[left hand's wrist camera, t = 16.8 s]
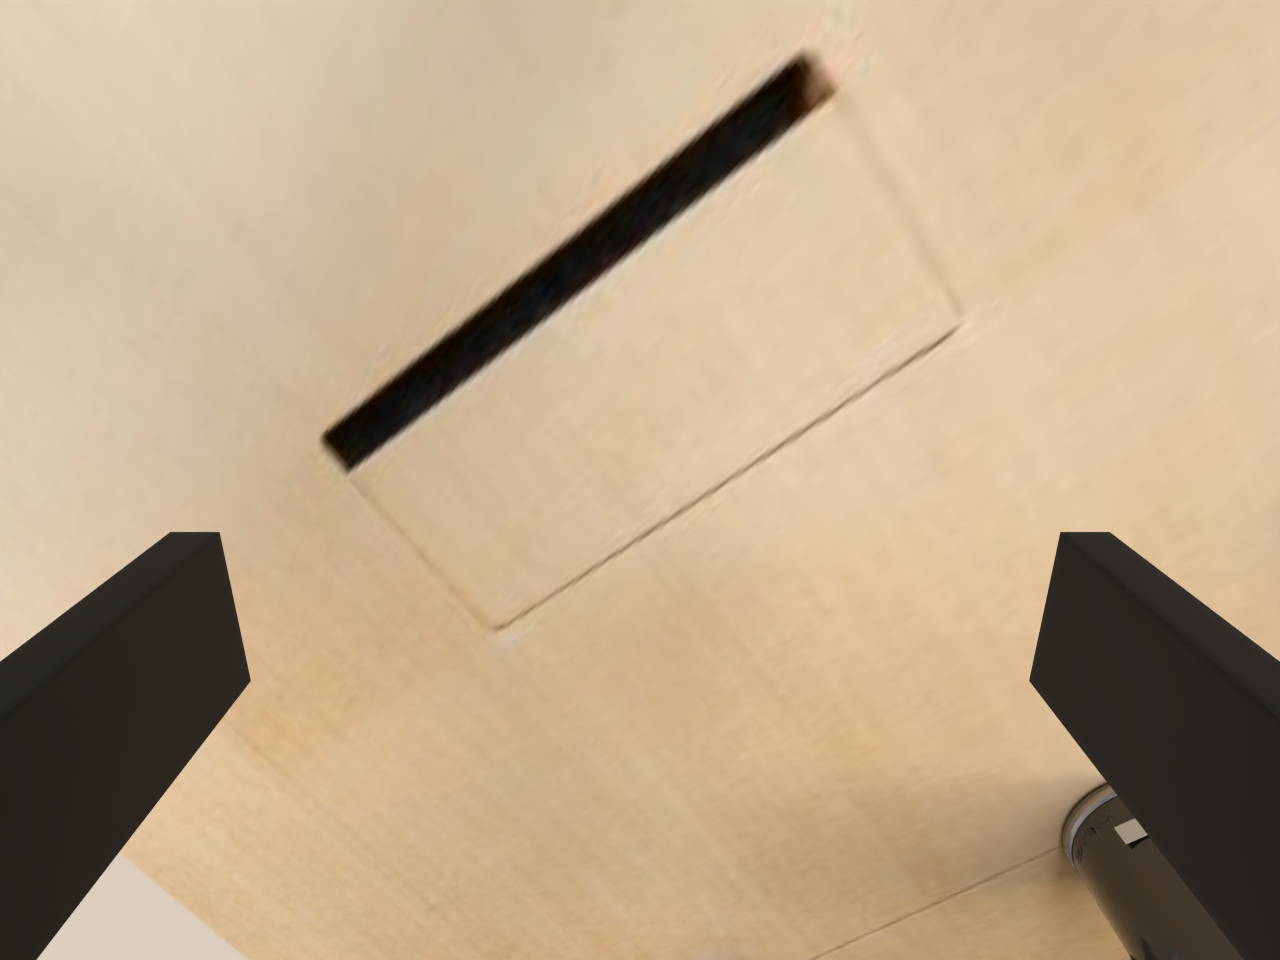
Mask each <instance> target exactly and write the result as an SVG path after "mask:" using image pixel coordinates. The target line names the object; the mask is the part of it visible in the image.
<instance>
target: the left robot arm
mask: <svg viewBox="0 0 1280 960" xmlns="http://www.w3.org/2000/svg"><path fill="white" fill-rule="evenodd" d="M250 681H251V680H250V675H249V670H248V665H247V661H246V656H245V651H244V646H243V642H242V637H241V632H240V627H239V623H238V618H237V613H236V608H235V604H234V599H233V594H232V589H231V585H230V580H229V575H228V570H227V566H226V561H225V556H224V551H223V547H222V542H221V537H220V532H170V533H169V534H167V535H166V536H165V537H163V538H162V539H161V540H159V541H158V542H157V543H155V544H154V545H153V546H152V547H150V548H149V549H148V550H146V551H145V552H144V553H142V554H141V555H140V556H138V557H137V558H136V559H134V560H133V561H132V562H131V563H129V564H128V565H127V566H125V567H124V568H123V569H121V570H120V571H119V572H117V573H116V574H115V575H113V576H112V577H111V578H110V579H108V580H107V581H106V582H104V583H103V584H102V585H100V586H99V587H98V588H96V589H95V590H94V591H92V592H91V593H90V594H89V595H87V596H86V597H85V598H83V599H82V600H81V601H79V602H78V603H77V604H75V605H74V606H73V607H71V608H70V609H69V610H68V611H66V612H65V613H64V614H62V615H61V616H60V617H58V618H57V619H56V620H54V621H53V622H52V623H50V624H49V625H48V626H47V627H45V628H44V629H43V630H41V631H40V632H39V633H37V634H36V635H35V636H33V637H32V638H31V639H29V640H28V641H27V642H26V643H24V644H23V645H22V646H20V647H19V648H18V649H16V650H15V651H14V652H12V653H11V654H10V655H8V656H7V657H6V658H5V659H3V660H2V661H1V662H0V960H37V958H38V957H39V956H40V954H41V953H42V952H43V950H44V949H45V948H46V947H47V945H48V944H49V943H50V941H51V940H52V939H53V937H54V936H55V935H56V934H57V932H58V931H59V930H60V928H61V927H62V926H63V924H64V923H65V922H66V921H67V919H68V918H69V917H70V915H71V914H72V913H73V911H74V910H75V909H76V907H77V906H78V905H79V904H80V902H81V901H82V900H83V898H84V897H85V896H86V894H87V893H88V892H89V891H90V889H91V888H92V887H93V885H94V884H95V883H96V881H97V880H98V879H99V878H100V876H101V875H102V874H103V872H104V871H105V870H106V868H107V867H108V866H109V865H110V863H111V862H112V861H113V859H114V858H115V857H116V855H117V854H118V853H119V852H120V850H121V849H122V848H123V846H124V845H125V844H126V842H127V841H128V840H129V839H130V837H131V836H132V835H133V833H134V832H135V831H136V829H137V828H138V827H139V826H140V824H141V823H142V822H143V820H144V819H145V818H146V816H147V815H148V814H149V813H150V811H151V810H152V809H153V807H154V806H155V805H156V803H157V802H158V801H159V800H160V798H161V797H162V796H163V794H164V793H165V792H166V790H167V789H168V788H169V787H170V785H171V784H172V783H173V781H174V780H175V779H176V777H177V776H178V775H179V774H180V772H181V771H182V770H183V768H184V767H185V766H186V764H187V763H188V762H189V760H190V759H191V758H192V757H193V755H194V754H195V753H196V751H197V750H198V749H199V747H200V746H201V745H202V744H203V742H204V741H205V740H206V738H207V737H208V736H209V734H210V733H211V732H212V731H213V729H214V728H215V727H216V725H217V724H218V723H219V721H220V720H221V719H222V718H223V716H224V715H225V714H226V712H227V711H228V710H229V708H230V707H231V706H232V705H233V703H234V702H235V701H236V699H237V698H238V697H239V695H240V694H241V693H242V692H243V690H244V689H245V688H246V686H247V685H248V684H249V682H250ZM1029 681H1030V682H1031V684H1032V685H1033V686H1034V688H1035V689H1036V690H1037V692H1038V693H1039V694H1040V695H1041V697H1042V698H1043V699H1044V701H1045V702H1046V703H1047V705H1048V706H1049V707H1050V708H1051V710H1052V711H1053V712H1054V714H1055V715H1056V716H1057V718H1058V719H1059V720H1060V721H1061V723H1062V724H1063V725H1064V727H1065V728H1066V729H1067V731H1068V732H1069V733H1070V734H1071V736H1072V737H1073V738H1074V740H1075V741H1076V742H1077V744H1078V745H1079V746H1080V747H1081V749H1082V750H1083V751H1084V753H1085V754H1086V755H1087V757H1088V758H1089V759H1090V760H1091V762H1092V763H1093V764H1094V766H1095V767H1096V768H1097V770H1098V771H1099V772H1100V774H1101V775H1102V776H1103V777H1104V779H1105V780H1106V781H1107V783H1108V784H1109V785H1110V787H1111V788H1112V789H1113V790H1114V792H1115V793H1116V794H1117V796H1118V797H1119V798H1120V800H1121V801H1122V802H1123V803H1124V805H1125V806H1126V807H1127V809H1128V810H1129V811H1130V813H1131V814H1132V815H1133V816H1134V818H1135V819H1136V820H1137V822H1138V823H1139V824H1140V826H1141V827H1142V828H1143V829H1144V831H1145V832H1146V833H1147V835H1148V836H1149V837H1150V839H1151V840H1152V841H1153V842H1154V844H1155V845H1156V846H1157V848H1158V849H1159V850H1160V852H1161V853H1162V854H1163V855H1164V857H1165V858H1166V859H1167V861H1168V862H1169V863H1170V865H1171V866H1172V867H1173V868H1174V870H1175V871H1176V872H1177V874H1178V875H1179V876H1180V878H1181V879H1182V880H1183V881H1184V883H1185V884H1186V885H1187V887H1188V888H1189V889H1190V891H1191V892H1192V893H1193V894H1194V896H1195V897H1196V898H1197V900H1198V901H1199V902H1200V904H1201V905H1202V906H1203V907H1204V909H1205V910H1206V911H1207V913H1208V914H1209V915H1210V917H1211V918H1212V919H1213V921H1214V922H1215V923H1216V924H1217V926H1218V927H1219V928H1220V930H1221V931H1222V932H1223V934H1224V935H1225V936H1226V937H1227V939H1228V940H1229V941H1230V943H1231V944H1232V945H1233V947H1234V948H1235V949H1236V950H1237V952H1238V953H1239V954H1240V956H1241V957H1242V958H1243V960H1280V662H1279V661H1278V660H1277V659H1275V658H1274V657H1273V656H1272V655H1270V654H1269V653H1268V652H1266V651H1265V650H1264V649H1262V648H1261V647H1260V646H1258V645H1257V644H1256V643H1254V642H1253V641H1252V640H1251V639H1249V638H1248V637H1247V636H1245V635H1244V634H1243V633H1241V632H1240V631H1239V630H1237V629H1236V628H1235V627H1233V626H1232V625H1231V624H1230V623H1228V622H1227V621H1226V620H1224V619H1223V618H1222V617H1220V616H1219V615H1218V614H1216V613H1215V612H1214V611H1212V610H1211V609H1210V608H1209V607H1207V606H1206V605H1205V604H1203V603H1202V602H1201V601H1199V600H1198V599H1197V598H1195V597H1194V596H1193V595H1191V594H1190V593H1189V592H1188V591H1186V590H1185V589H1184V588H1182V587H1181V586H1180V585H1178V584H1177V583H1176V582H1174V581H1173V580H1172V579H1170V578H1169V577H1168V576H1167V575H1165V574H1164V573H1163V572H1161V571H1160V570H1159V569H1157V568H1156V567H1155V566H1153V565H1152V564H1151V563H1149V562H1148V561H1147V560H1146V559H1144V558H1143V557H1142V556H1140V555H1139V554H1138V553H1136V552H1135V551H1134V550H1132V549H1131V548H1130V547H1128V546H1127V545H1126V544H1125V543H1123V542H1122V541H1121V540H1119V539H1118V538H1117V537H1115V536H1114V535H1113V534H1111V533H1110V532H1060V537H1059V542H1058V547H1057V551H1056V556H1055V561H1054V566H1053V570H1052V575H1051V580H1050V585H1049V589H1048V594H1047V599H1046V604H1045V608H1044V613H1043V618H1042V623H1041V627H1040V632H1039V637H1038V642H1037V646H1036V651H1035V656H1034V661H1033V665H1032V670H1031V675H1030V680H1029Z"/></svg>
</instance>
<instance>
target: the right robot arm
mask: <svg viewBox="0 0 1280 960" xmlns="http://www.w3.org/2000/svg"><path fill="white" fill-rule="evenodd" d="M1062 840H1063V849H1064V852H1065V855H1066V857H1067V859H1068V861H1069V862H1070V864H1071V865H1072V867H1073V869H1074V870H1075V872H1076V873H1077V875H1078V876H1079V877H1080V878H1081V879H1082V880H1083V881H1084V883H1085V885H1086V886H1087V888H1088V889H1089V891H1090V893H1091V894H1092V896H1093V897H1094V899H1095V901H1096V902H1097V904H1098V906H1099V908H1100V909H1101V911H1102V912H1103V914H1104V916H1105V917H1106V919H1107V920H1108V922H1109V924H1110V925H1111V927H1112V928H1113V930H1114V932H1115V933H1116V935H1117V936H1118V938H1119V940H1120V941H1121V943H1122V944H1123V946H1124V948H1125V949H1126V951H1127V952H1128V954H1129V956H1130V957H1131V959H1132V960H1243V958H1242V957H1241V956H1240V954H1239V953H1238V952H1237V950H1236V949H1235V948H1234V947H1233V945H1232V944H1231V943H1230V941H1229V940H1228V939H1227V937H1226V936H1225V935H1224V934H1223V932H1222V931H1221V930H1220V928H1219V927H1218V926H1217V924H1216V923H1215V922H1214V921H1213V919H1212V918H1211V917H1210V915H1209V914H1208V913H1207V911H1206V910H1205V909H1204V907H1203V906H1202V905H1201V904H1200V902H1199V901H1198V900H1197V898H1196V897H1195V896H1194V894H1193V893H1192V892H1191V891H1190V889H1189V888H1188V887H1187V885H1186V884H1185V883H1184V881H1183V880H1182V879H1181V878H1180V876H1179V875H1178V874H1177V872H1176V871H1175V870H1174V868H1173V867H1172V866H1171V865H1170V863H1169V862H1168V861H1167V859H1166V858H1165V857H1164V855H1163V854H1162V853H1161V852H1160V850H1159V849H1158V848H1157V846H1156V845H1155V844H1154V842H1153V841H1152V840H1151V839H1150V837H1149V836H1148V835H1147V833H1146V832H1145V831H1144V829H1143V828H1142V827H1141V826H1140V824H1139V823H1138V822H1137V820H1136V819H1135V818H1134V816H1133V815H1132V814H1131V813H1130V811H1129V810H1128V809H1127V807H1126V806H1125V805H1124V803H1123V802H1122V801H1121V800H1120V798H1119V797H1118V796H1117V794H1116V793H1115V792H1114V790H1113V789H1112V788H1111V787H1110V785H1109V784H1107V785H1105V786H1103V787H1101V788H1099V789H1098V790H1096V791H1094V792H1093V793H1091V794H1090V795H1089V796H1087V797H1086V798H1085V799H1084V800H1083V801H1082V802H1081V803H1080V804H1079V805H1078V806H1077V807H1076V808H1075V809H1074V811H1073V812H1072V813H1071V815H1070V817H1069V818H1068V820H1067V823H1066V825H1065V828H1064V832H1063V839H1062Z"/></svg>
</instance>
